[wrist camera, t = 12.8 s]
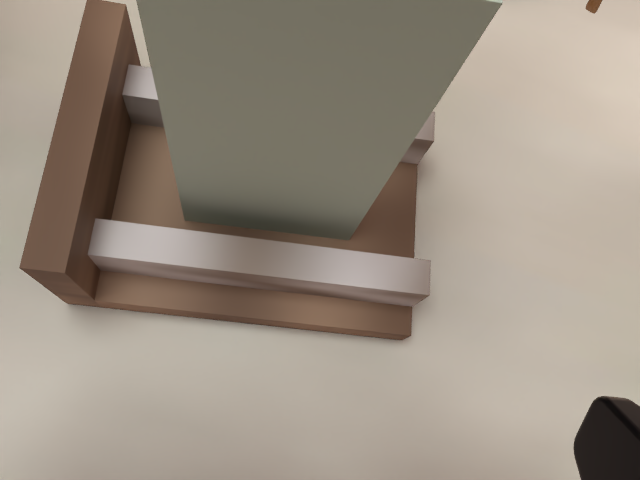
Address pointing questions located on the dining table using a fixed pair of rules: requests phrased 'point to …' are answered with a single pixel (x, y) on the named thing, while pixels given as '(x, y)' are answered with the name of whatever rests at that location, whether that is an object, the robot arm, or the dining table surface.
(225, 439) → the dining table surface
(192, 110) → the pale green rectangular box
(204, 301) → the cabinet base
